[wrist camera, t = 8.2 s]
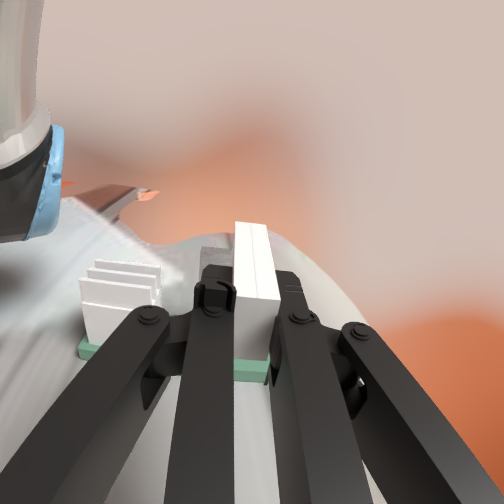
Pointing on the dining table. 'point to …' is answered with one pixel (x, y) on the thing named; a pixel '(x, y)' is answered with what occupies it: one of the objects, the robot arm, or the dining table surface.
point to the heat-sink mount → (132, 307)
